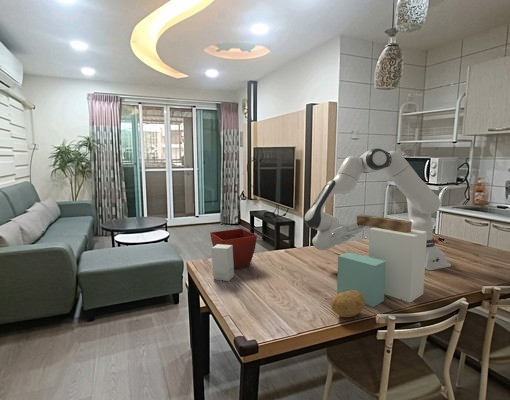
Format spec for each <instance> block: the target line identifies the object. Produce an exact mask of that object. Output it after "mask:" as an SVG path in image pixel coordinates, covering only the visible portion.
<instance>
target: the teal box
mask: <svg viewBox="0 0 510 400" xmlns="http://www.w3.org/2000/svg"><path fill="white" fill-rule="evenodd" d="M385 267H386V261H383V260H379V259H375V258H371V257H369V256H367V255H363V254H359V253H355V252H345V253H343V254H340V255H337V282H336V283H337V284H336V285H337V287H336V295H337V294H339V293H341V292H346V291H350V290H356V291H359V292H360V293H361V294H362V295H363V297H364V299H365V306H369V307H373V308H374V307H376V306H377V305H379V304H382V303H383V302H384V301H385V294H384V289H385Z"/></svg>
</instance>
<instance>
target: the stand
mask: <svg viewBox="0 0 510 400" xmlns="http://www.w3.org/2000/svg"><path fill="white" fill-rule="evenodd" d="M368 238H369V239H368V257H371V258H375V259H379V260H383V261H386V267H385V289H384V296H385V295H386V296H389V297H392V298H394V299H397V300H401V299H402V300H401V301H404V302H406V303H407V302H408V303H410V302H411V303H413V301H415V300H416V299H418V298H419V297H421V296H422V295H424V290H425V289H424V287H425V286H424V285H425V273H426V272H425V271H426V269H425V258H426V242H427V232H426V231H420V230H413V229H411V232H408V233H404V232H398V231H393V230H387V229H381V228H375V227H370V228H369V237H368Z"/></svg>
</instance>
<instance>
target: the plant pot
mask: <svg viewBox="0 0 510 400" xmlns="http://www.w3.org/2000/svg"><path fill="white" fill-rule="evenodd" d="M257 239H258V235H257V234H255V233H253V232H251V231H248V230H246V229H244V228H235V229H227V230H226V229H225V230H219V231H218V230H217V231H211V232H210V240H211V244H212V247H214V246H215V245H217V244H222V245H233V264H234V270H237V269H240V268H246V267H249V266H250V265H251V262H252V260H253V257H254V254H255V250H256V244H257Z"/></svg>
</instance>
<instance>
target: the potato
mask: <svg viewBox="0 0 510 400" xmlns="http://www.w3.org/2000/svg"><path fill="white" fill-rule="evenodd" d="M365 306H366V304H365V299H364V297H363V295H362V294H361V293H360V292H359V291H356V290H350V291H346V292H341V293H339V294H337V293H336V295H335V296H334V297H332V299H331V303H330V307H331V310H333V313H334V314H337V315H338V316H339V317H340V318H351V317H355V316H357V315H359V314H361V312H362V311H364V308H365Z"/></svg>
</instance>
